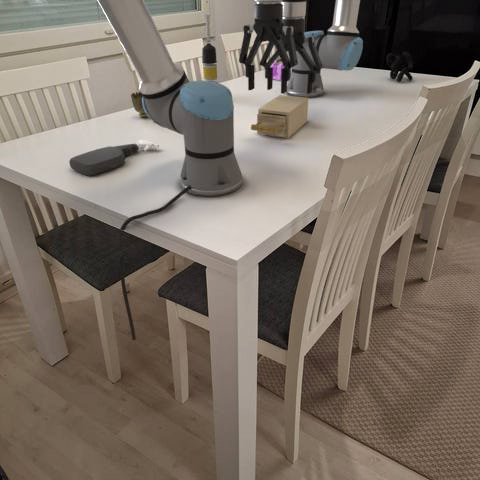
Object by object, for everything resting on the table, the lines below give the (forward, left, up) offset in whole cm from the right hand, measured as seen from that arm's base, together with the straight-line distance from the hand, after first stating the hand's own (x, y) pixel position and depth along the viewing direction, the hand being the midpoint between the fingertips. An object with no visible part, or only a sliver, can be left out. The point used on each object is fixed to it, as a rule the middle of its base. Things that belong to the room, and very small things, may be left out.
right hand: (289, 91), depth 144 cm
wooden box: (+4, -1, -11) cm, 12 cm away
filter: (-25, -36, -11) cm, 45 cm away
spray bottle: (+42, -41, -11) cm, 60 cm away
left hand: (+18, -3, +4) cm, 19 cm away
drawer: (+10, -2, -10) cm, 14 cm away
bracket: (-70, -15, -11) cm, 72 cm away
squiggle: (-73, +37, -11) cm, 83 cm away
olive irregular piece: (+3, -51, -11) cm, 53 cm away
